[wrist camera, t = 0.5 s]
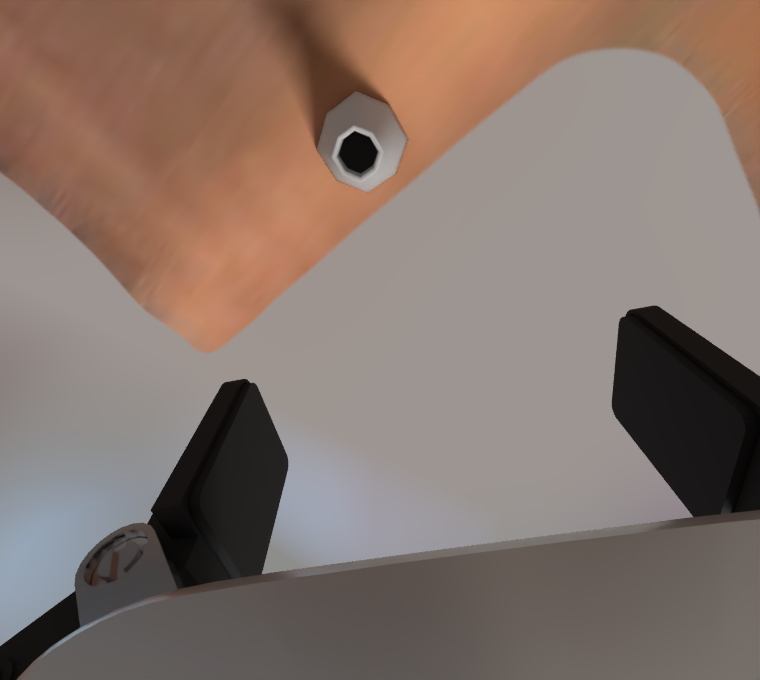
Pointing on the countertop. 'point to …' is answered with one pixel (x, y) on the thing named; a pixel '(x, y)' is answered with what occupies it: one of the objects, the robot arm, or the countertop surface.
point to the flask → (362, 142)
